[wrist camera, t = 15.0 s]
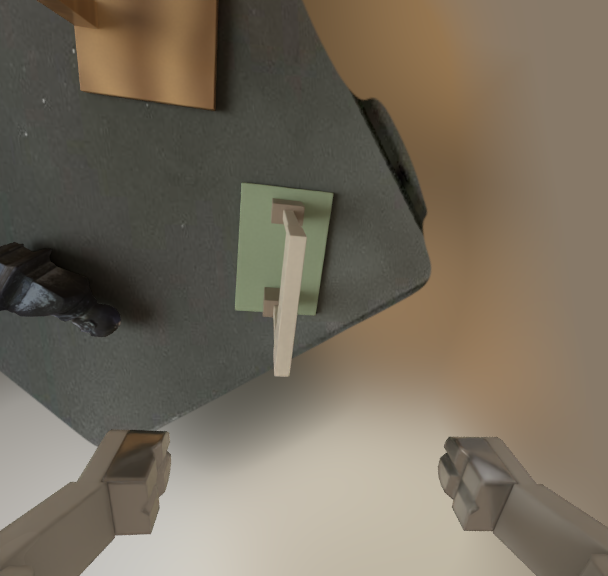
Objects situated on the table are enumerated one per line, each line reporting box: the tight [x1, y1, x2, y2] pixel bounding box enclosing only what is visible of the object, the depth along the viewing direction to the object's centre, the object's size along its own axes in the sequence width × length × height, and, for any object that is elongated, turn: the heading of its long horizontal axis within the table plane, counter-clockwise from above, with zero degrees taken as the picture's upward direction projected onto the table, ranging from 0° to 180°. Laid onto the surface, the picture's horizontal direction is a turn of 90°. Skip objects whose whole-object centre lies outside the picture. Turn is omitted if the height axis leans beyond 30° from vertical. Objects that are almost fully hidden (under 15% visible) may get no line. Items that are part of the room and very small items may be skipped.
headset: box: [263, 198, 307, 377], centre depth 32 cm, size 3×12×16 cm, turn 173°
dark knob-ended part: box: [0, 242, 121, 337], centre depth 36 cm, size 6×13×6 cm, turn 54°
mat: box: [235, 182, 333, 315], centre depth 40 cm, size 10×15×1 cm, turn 173°
